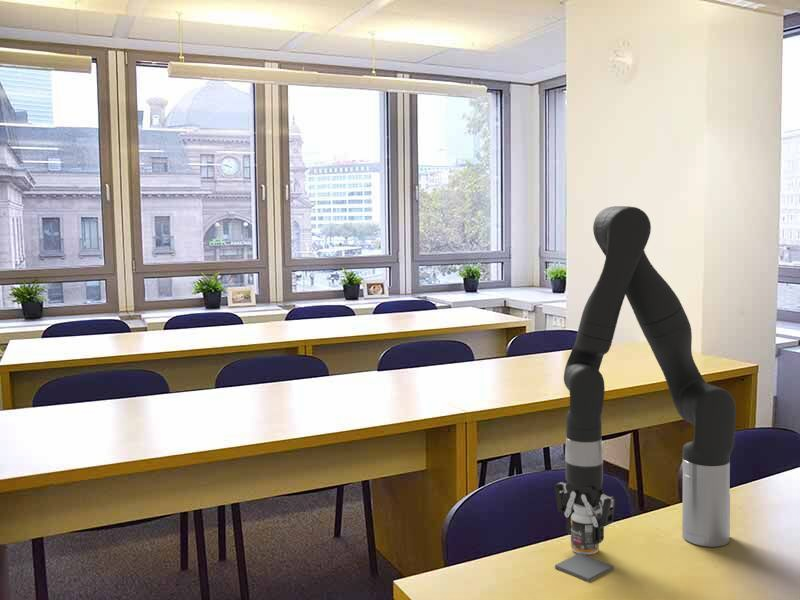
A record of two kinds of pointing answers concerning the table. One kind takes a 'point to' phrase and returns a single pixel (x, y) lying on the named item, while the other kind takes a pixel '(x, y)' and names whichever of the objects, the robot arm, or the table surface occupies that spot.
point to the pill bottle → (582, 531)
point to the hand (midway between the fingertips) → (584, 538)
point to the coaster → (584, 567)
